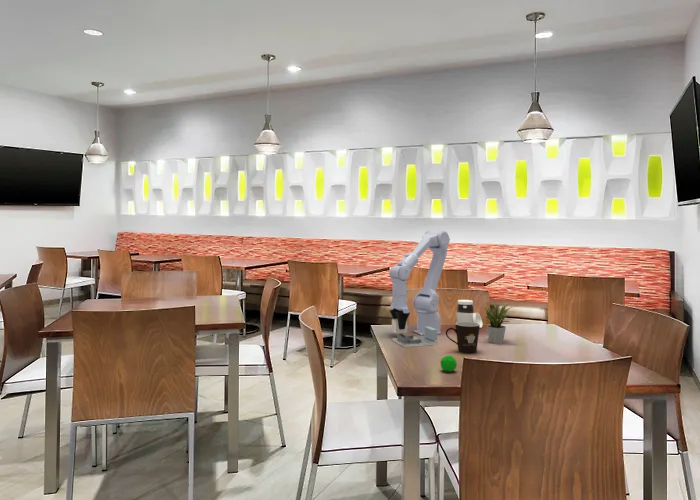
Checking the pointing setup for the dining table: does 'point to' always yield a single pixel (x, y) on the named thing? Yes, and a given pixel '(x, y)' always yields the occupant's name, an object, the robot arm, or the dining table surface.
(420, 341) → the press frame
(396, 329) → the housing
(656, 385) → the dining table surface
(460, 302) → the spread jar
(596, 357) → the dining table surface
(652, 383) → the dining table surface
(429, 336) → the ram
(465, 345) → the coffee mug
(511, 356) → the dining table surface
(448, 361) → the polyhedron
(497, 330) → the house plant
